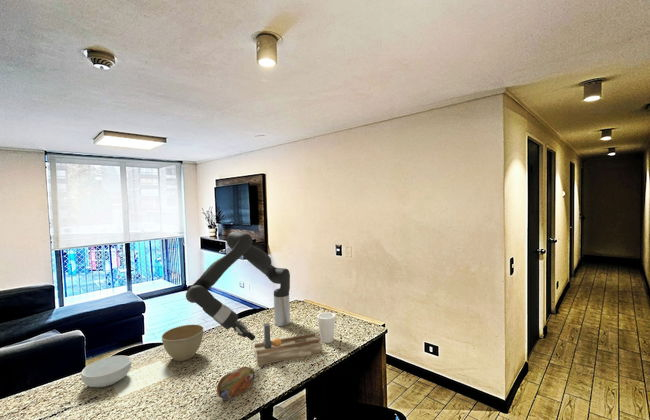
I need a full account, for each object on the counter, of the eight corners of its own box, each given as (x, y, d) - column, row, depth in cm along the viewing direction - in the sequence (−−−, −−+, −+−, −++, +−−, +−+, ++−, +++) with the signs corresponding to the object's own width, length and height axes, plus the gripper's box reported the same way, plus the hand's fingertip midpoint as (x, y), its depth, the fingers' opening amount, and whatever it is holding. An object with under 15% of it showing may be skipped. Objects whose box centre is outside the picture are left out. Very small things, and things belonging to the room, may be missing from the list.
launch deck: (254, 353, 146) (254, 342, 146) (313, 341, 156) (313, 331, 156) (257, 365, 135) (257, 353, 135) (321, 352, 145) (320, 341, 145)
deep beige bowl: (191, 344, 158) (190, 321, 158) (212, 353, 147) (211, 329, 147) (155, 360, 143) (154, 334, 143) (175, 371, 133) (174, 343, 132)
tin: (220, 404, 109) (219, 381, 109) (216, 401, 111) (215, 378, 111) (255, 385, 120) (254, 364, 120) (251, 382, 122) (250, 361, 122)
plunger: (263, 346, 144) (262, 323, 144) (270, 345, 145) (269, 322, 145) (265, 350, 140) (264, 326, 140) (271, 349, 141) (270, 325, 141)
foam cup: (336, 336, 162) (335, 312, 162) (335, 344, 153) (334, 318, 153) (319, 336, 163) (318, 312, 163) (316, 344, 154) (316, 318, 153)
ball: (272, 345, 145) (271, 337, 145) (280, 343, 147) (280, 335, 147) (273, 349, 141) (273, 340, 141) (282, 347, 143) (281, 339, 143)
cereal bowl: (92, 399, 115) (91, 381, 115) (74, 386, 124) (74, 369, 123) (139, 376, 129) (139, 360, 129) (120, 366, 138) (120, 351, 138)
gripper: (231, 314, 131) (261, 337, 135) (230, 305, 143) (257, 326, 148) (219, 328, 129) (249, 351, 133) (219, 318, 142) (246, 339, 146)
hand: (253, 338), depth 140 cm, fingers closed
